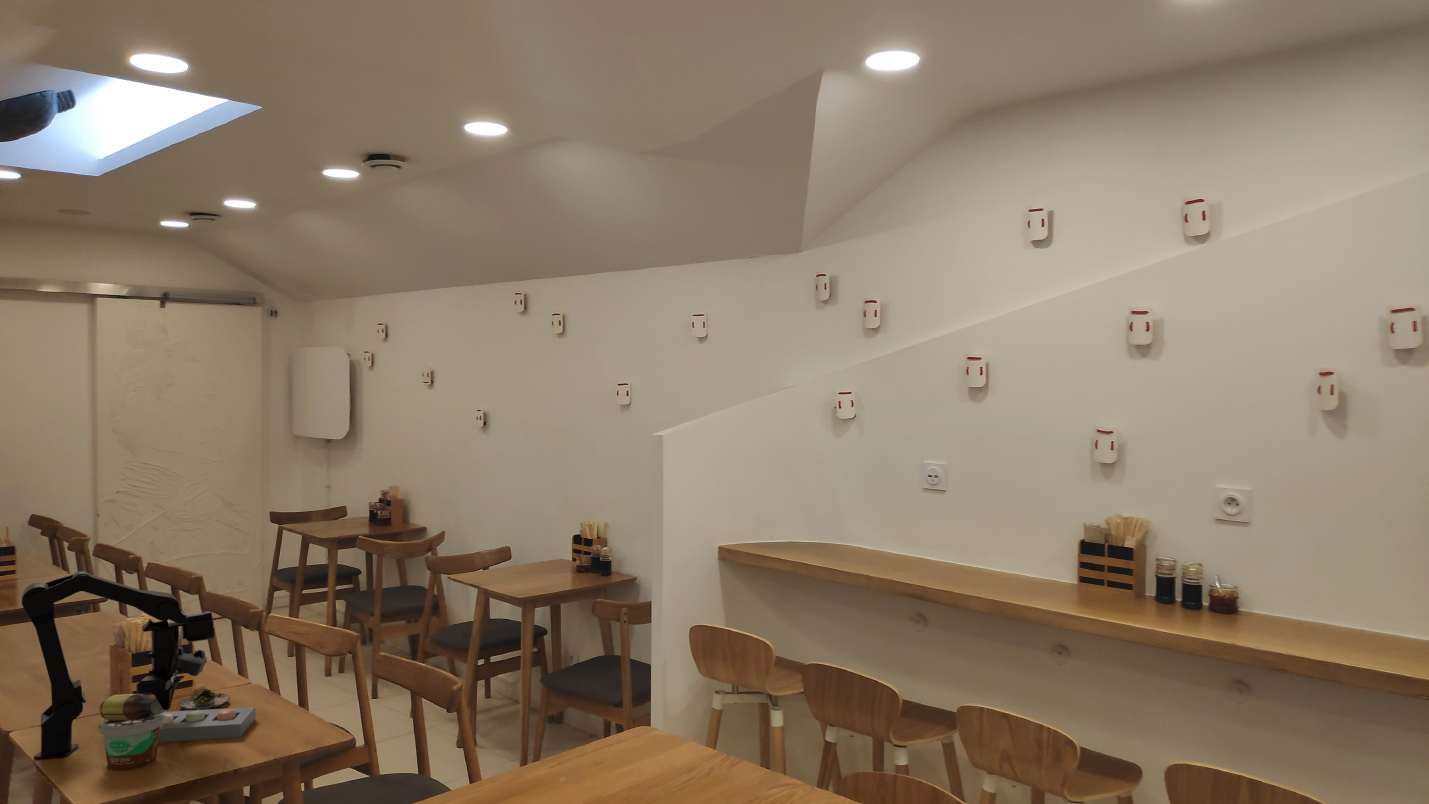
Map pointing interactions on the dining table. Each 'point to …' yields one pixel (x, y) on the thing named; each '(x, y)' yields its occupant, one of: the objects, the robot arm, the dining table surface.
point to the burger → (202, 699)
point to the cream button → (166, 718)
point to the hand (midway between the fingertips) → (166, 709)
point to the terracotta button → (226, 714)
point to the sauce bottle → (129, 707)
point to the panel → (205, 725)
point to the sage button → (195, 716)
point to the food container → (131, 743)
